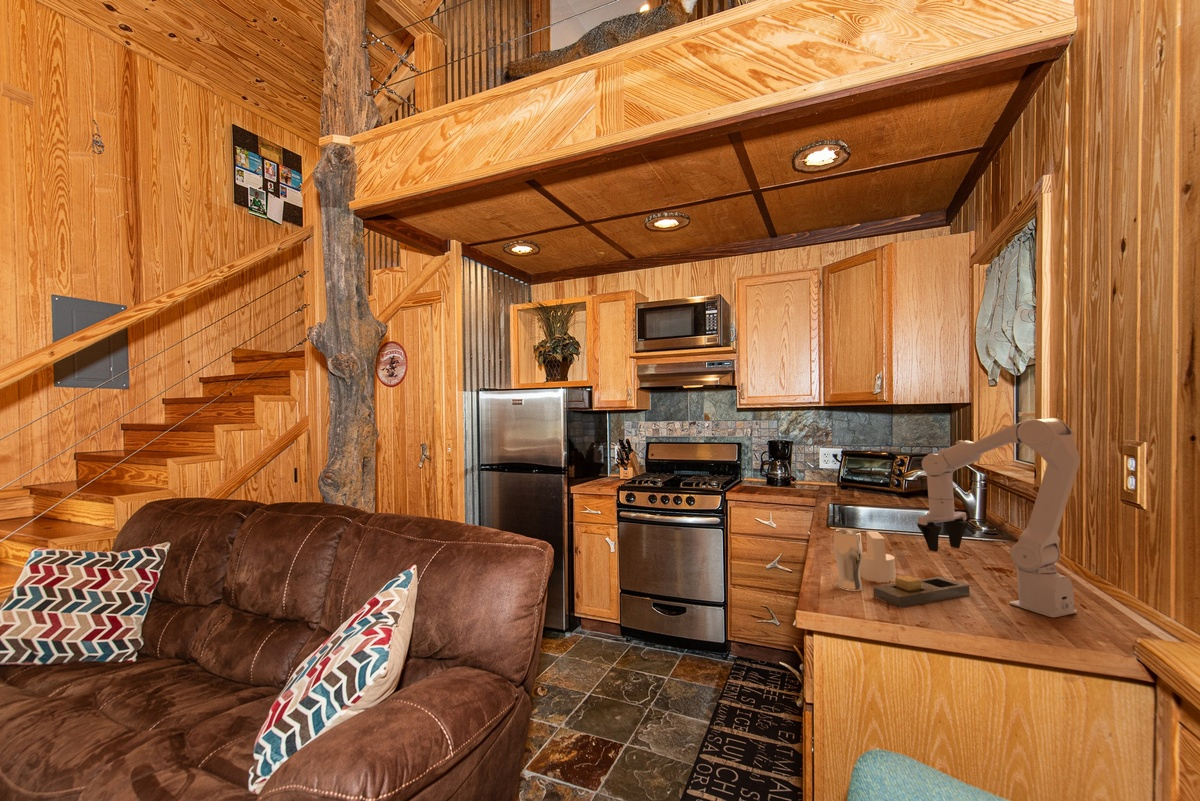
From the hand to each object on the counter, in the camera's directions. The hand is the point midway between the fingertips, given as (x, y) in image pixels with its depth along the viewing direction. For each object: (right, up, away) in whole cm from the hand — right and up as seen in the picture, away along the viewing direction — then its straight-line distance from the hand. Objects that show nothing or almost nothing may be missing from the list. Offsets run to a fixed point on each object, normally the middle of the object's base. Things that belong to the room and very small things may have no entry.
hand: (944, 549), depth 140 cm
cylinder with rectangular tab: (-13, -11, +8) cm, 19 cm away
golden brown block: (-15, -10, -9) cm, 20 cm away
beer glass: (-25, -11, +1) cm, 27 cm away
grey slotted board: (-11, -10, -8) cm, 17 cm away
